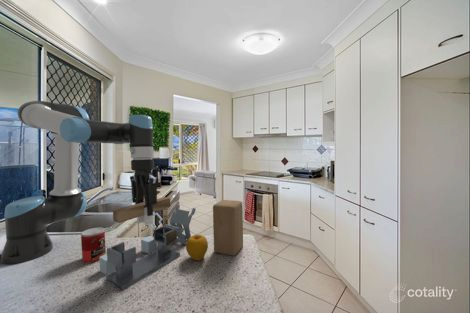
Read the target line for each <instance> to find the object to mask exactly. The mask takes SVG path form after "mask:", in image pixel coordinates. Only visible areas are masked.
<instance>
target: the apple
mask: <svg viewBox="0 0 470 313" xmlns="http://www.w3.org/2000/svg"><path fill="white" fill-rule="evenodd" d="M186 240H187V239H186ZM186 243H187V244H186V245H185V249H186V253H187V254H188V256H189V257H190V258H191V259H192V260H194V261H201V260H202V259H204V257H205V255H206V254H207V251H208V248H209V244H208V243H209V242H208V240H207V238H206V236H205V235H202V234H194V235H191V237H190V238H189V239H188V240H187V242H186Z"/></svg>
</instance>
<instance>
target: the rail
mask: <svg viewBox="0 0 470 313" xmlns="http://www.w3.org/2000/svg"><path fill="white" fill-rule="evenodd" d="M144 206H146V205H145V201H144V202H143V203H139V204H132V205H131V204H130V205H128V206H125V207H120V208H115V209H113V210H112V219H113V222H115V223H118V224H120V223H124V222H126V221H130V220H133V219H138V218H137V217H140V216H143V215H144ZM169 208H171V197H166V196H163V197H160V198H157V204H156V205H153V213H155V212H159V211H162V210H165V209H169Z"/></svg>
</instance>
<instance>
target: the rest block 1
mask: <svg viewBox="0 0 470 313" xmlns="http://www.w3.org/2000/svg"><path fill="white" fill-rule="evenodd" d="M98 262H99V271H100V272H101V273H103V274H104V275H105V276H107V275H109V274H111V273H113V272H115V271H116V269H115V265H114V264H113V263H111V262H109V261H107V253H106V254H105V255H103V256H100V257H99V261H98Z"/></svg>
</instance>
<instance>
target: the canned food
mask: <svg viewBox="0 0 470 313" xmlns="http://www.w3.org/2000/svg"><path fill="white" fill-rule="evenodd" d="M80 242H81V243H80V244H81V245H80V246H81V258H82V259H81V260H82V262H83V263H86V264H91V263H95V262H96V263H97V262H99V257H100V256H103V255H105V254H107V249H106V231H105V227H93V228H88V229H85V230H83V231H82V232H81V234H80Z"/></svg>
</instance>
